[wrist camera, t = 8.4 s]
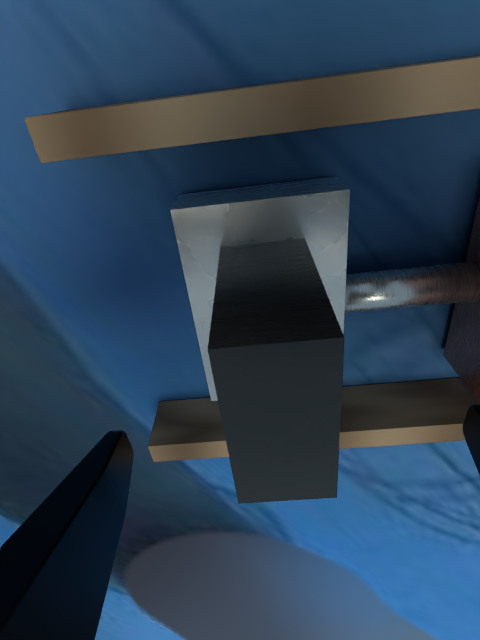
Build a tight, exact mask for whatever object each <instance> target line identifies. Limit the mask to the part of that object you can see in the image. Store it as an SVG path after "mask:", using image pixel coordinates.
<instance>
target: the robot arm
mask: <svg viewBox="0 0 480 640" xmlns="http://www.w3.org/2000/svg"><path fill="white" fill-rule="evenodd" d="M462 429H463V435H464V437H465V440H466V442H467V445H468V447H469V450H470V452H471V455H472V457H473V460H474V462H475V465H476V467H477V470H478V472H479V475H480V404H472V405H470V406H469V407H468V410H467V413H466V416H465V420H464V423H463V428H462ZM132 465H133V449H132V446H131V444H130V441H129V439H128V437H127V434H126V432H125V431H123V430H119V431H110V432H108V433H107V434H106V435H105V436H104V437H103V438H102V439H101V440H100V441H99V442H98V443H97V444H96V445H95V447H94V448H93V449H92V450H91V451H90V452H89V453H88V454H87V455H86V456H85V457H84V458H83V459H82V461H81V462H80V463H79V464H78V465H77V466H76V467H75V468H74V469H73V470H72V471H71V472H70V473H69V474H68V476H67V477H66V478H65V479H64V480H63V481H62V482H61V483H60V484H59V485H58V486H57V487H56V488H55V489H54V491H53V492H52V493H51V494H50V495H49V496H48V497H47V498H46V499H45V500H44V501H43V502H42V503H41V504H40V506H39V507H38V508H37V509H36V510H35V511H34V512H33V513H32V514H31V515H30V516H29V517H28V518H27V520H26V521H25V522H24V523H23V524H22V525H21V526H20V527H19V528H18V529H17V530H16V531H15V532H14V533H13V535H12V536H11V537H10V538H9V539H8V540H7V541H6V542H5V543H4V544H3V545H2V546H1V548H0V640H95V636H96V632H97V628H98V624H99V620H100V616H101V612H102V608H103V603H104V599H105V595H106V591H107V587H108V583H109V579H110V575H111V571H112V567H113V563H114V559H115V555H116V551H117V547H118V543H119V539H120V535H121V531H122V527H123V523H124V518H125V514H126V508H127V501H128V494H129V486H130V479H131V472H132Z"/></svg>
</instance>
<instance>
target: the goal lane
mask: <svg viewBox="0 0 480 640" xmlns="http://www.w3.org/2000/svg"><path fill="white" fill-rule="evenodd" d="M479 108H480V55H477V56H469V57H462V58H454V59H447V60H439V61H432V62H424V63H417V64H409V65H402V66H394V67H387V68H379V69H372V70H364V71H357V72H349V73H342V74H334V75H327V76H319V77H312V78H305V79H297V80H290V81H282V82H275V83H267V84H260V85H252V86H245V87H237V88H230V89H222V90H215V91H207V92H200V93H192V94H185V95H177V96H170V97H162V98H155V99H147V100H140V101H132V102H125V103H118V104H110V105H103V106H95V107H88V108H80V109H73V110H65V111H60V112H54V113H49V114H43V115H37V116H32V117H26V118H24V119H25V122H26V125H27V127H28V130H29V133H30V135H31V138H32V141H33V143H34V146H35V149H36V151H37V154H38V156H39V159H40V162H41V163H46V162H54V161H62V160H70V159H78V158H86V157H94V156H102V155H110V154H118V153H126V152H134V151H142V150H150V149H158V148H166V147H174V146H182V145H190V144H198V143H206V142H214V141H222V140H230V139H238V138H246V137H254V136H262V135H270V134H278V133H286V132H294V131H302V130H310V129H318V128H327V127H335V126H343V125H351V124H359V123H367V122H375V121H383V120H391V119H399V118H407V117H415V116H423V115H431V114H439V113H447V112H455V111H463V110H471V109H479ZM472 404H479V403H478V401H477V400H476V399H475V397H474V396H473V395H472V393H471V392H470V390H469V389H468V388H467V386H466V385H465V384H464V382H463V381H462V380H461V378H448V379H435V380H423V381H410V382H398V383H385V384H373V385H360V386H348V387H342V397H341V418H340V439H339V449H346V448H360V447H375V446H389V445H404V444H418V443H432V442H447V441H461V440H465V437H464V435H463V429H462V428H463V423H464V420H465V416H466V413H467V410H468V407H469V406H470V405H472ZM148 448H149V451H150V453H151V456H152V458H153V461H154V462H159V461H174V460H188V459H202V458H217V457H229V454H228V449H227V444H226V439H225V434H224V429H223V424H222V419H221V414H220V409H219V404H218V401H211V398H198V399H186V400H173V401H161V402H159V405H158V409H157V413H156V417H155V421H154V425H153V428H152V432H151V436H150V440H149V444H148Z"/></svg>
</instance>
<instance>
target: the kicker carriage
mask: <svg viewBox="0 0 480 640" xmlns="http://www.w3.org/2000/svg"><path fill="white" fill-rule="evenodd" d="M349 201H350V189H349V188H348V187H347V186H346V185H345V184H344V183H343V182H342V181H341V180H340V179H339V178H338V177H337V176H334V177H326V178H317V179H309V180H300V181H291V182H283V183H274V184H266V185H257V186H248V187H240V188H231V189H223V190H214V191H205V192H197V193H188V194H180V195H178V197H177V199H176V200H175V202H174V204H173V206H172V208H171V210H170V211H171V216H172V221H173V225H174V230H175V235H176V239H177V244H178V249H179V253H180V258H181V262H182V267H183V272H184V276H185V281H186V286H187V290H188V295H189V300H190V304H191V309H192V314H193V318H194V323H195V328H196V332H197V337H198V342H199V346H200V351H201V355H202V360H203V365H204V369H205V374H206V379H207V383H208V388H209V393H210V397H211V401H218V404H219V409H220V414H221V419H222V424H223V429H224V434H225V439H226V444H227V449H228V454H229V459H230V463H231V468H232V473H233V478H234V483H235V488H236V493H237V498H238V503H254V502H270V501H287V500H303V499H319V498H335V497H337V482H338V460H339V439H340V418H341V397H342V376H343V355H344V335H343V333H344V313H353V312H364V311H375V310H386V309H396V308H407V307H418V306H429V305H439V304H450V303H455V307H454V311H453V315H452V320H451V324H450V328H449V333H448V337H447V341H446V345H445V350H444V354H443V355H444V356H445V358H446V359H447V360H448V362H449V363H450V365H451V366H452V367H453V369H454V370H455V371H456V373H457V374H458V375H459V377H460V378H461V380H462V381H463V382H464V384H465V385H466V386H467V388H468V389H469V390H470V392H471V393H472V395H473V396H474V397H475V399H476V400H477V401H478V403H479V404H480V199H479V203H478V207H477V212H476V216H475V220H474V225H473V229H472V233H471V237H470V242H469V246H468V250H467V255H466V259H465V263H455V264H445V265H435V266H425V267H415V268H405V269H395V270H385V271H375V272H365V273H355V274H346V267H347V245H348V223H349Z"/></svg>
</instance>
